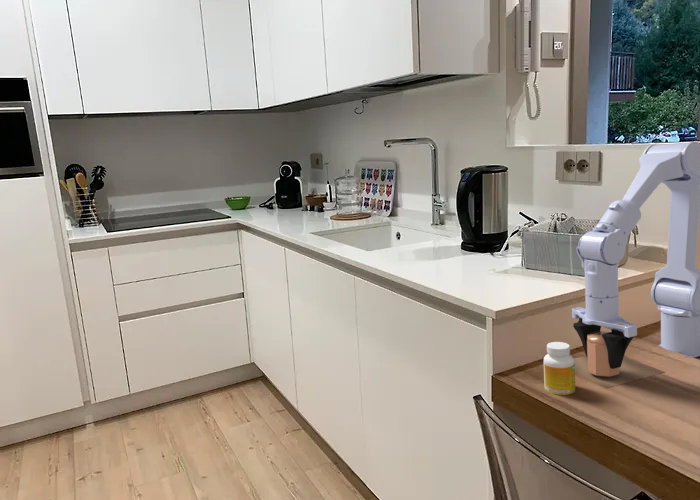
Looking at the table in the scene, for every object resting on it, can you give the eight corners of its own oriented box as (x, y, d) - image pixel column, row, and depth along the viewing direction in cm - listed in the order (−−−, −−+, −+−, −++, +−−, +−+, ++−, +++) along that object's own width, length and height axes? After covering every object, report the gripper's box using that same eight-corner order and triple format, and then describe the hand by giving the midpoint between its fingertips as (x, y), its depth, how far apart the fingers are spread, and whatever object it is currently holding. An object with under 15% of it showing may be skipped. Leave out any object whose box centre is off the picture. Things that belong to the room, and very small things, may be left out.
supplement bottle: (578, 401, 97) (576, 350, 95) (547, 401, 98) (545, 350, 97) (572, 388, 102) (570, 339, 101) (542, 388, 103) (540, 340, 102)
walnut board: (609, 355, 116) (609, 349, 115) (665, 378, 102) (665, 372, 102) (555, 368, 112) (555, 363, 111) (606, 394, 98) (606, 388, 98)
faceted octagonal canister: (604, 362, 107) (603, 329, 106) (626, 372, 102) (625, 337, 101) (581, 368, 106) (580, 334, 105) (602, 378, 101) (601, 343, 99)
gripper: (558, 290, 107) (560, 354, 109) (614, 306, 93) (615, 379, 96) (587, 284, 109) (589, 347, 111) (645, 299, 95) (646, 371, 98)
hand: (603, 361), depth 104 cm, fingers closed on faceted octagonal canister, 5 cm apart
